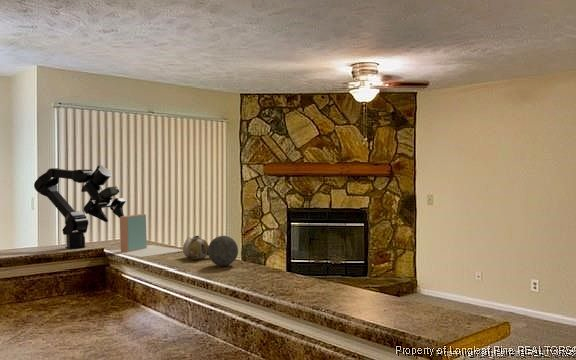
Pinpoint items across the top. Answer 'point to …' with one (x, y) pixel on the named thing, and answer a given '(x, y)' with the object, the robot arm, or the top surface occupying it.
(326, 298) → the top surface
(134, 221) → the tile
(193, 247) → the ceramic sculpture
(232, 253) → the decorative ball
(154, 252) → the mat
